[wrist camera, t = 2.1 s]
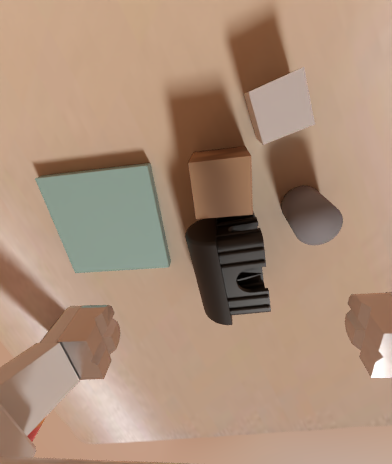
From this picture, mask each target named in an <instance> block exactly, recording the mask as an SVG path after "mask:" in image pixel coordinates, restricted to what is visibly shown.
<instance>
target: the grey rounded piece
mask: <svg viewBox="0 0 392 464" xmlns="http://www.w3.org/2000/svg"><path fill="white" fill-rule="evenodd" d="M281 209H282V213H283V214H284V216H285V218H286V220H287V221H288V223H289V225H290V226H291V228H292V230H293V232H294V233H295V235H296V237H297V238H298V239H299V240H300V241H301V242H303V243H305V244H309V245H320V244H324V243H326V242H328V241H330V240H332V239H333V238H334V237H335V236H336V235H337V234H338V233H339V231H340V229H341V227H342V223H343V218H342V214H341V212H340V211H339V210H338V209H337V208H336V207H335V206H334V205H333V204H332V203H331V202H329V201H328V200H327V199H326V198H325V197H324V196H323V195H321V194H320V193H319V192H318V191H317V190H316V189H314V188H313V187H310V186H299V187H296V188H294V189H292V190H290V191H289V192H288V193H287V194H286V195H285V196H284V198H283V200H282V204H281Z"/></svg>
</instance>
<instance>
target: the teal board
mask: <svg viewBox="0 0 392 464" xmlns="http://www.w3.org/2000/svg"><path fill="white" fill-rule="evenodd" d="M35 180H36V182H37V184H38V187H39V189H40V191H41V194H42V196H43V198H44V201H45V203H46V205H47V208H48V210H49V213H50V215H51V217H52V220H53V222H54V224H55V227H56V229H57V231H58V234H59V236H60V238H61V241H62V243H63V245H64V248H65V250H66V253H67V255H68V257H69V260H70V262H71V264H72V267H73V269H74V271H75V273H85V272H101V271H117V270H133V269H149V268H166V267H169V266H170V262H171V260H170V255H169V251H168V246H167V241H166V236H165V232H164V227H163V222H162V217H161V212H160V208H159V203H158V198H157V193H156V188H155V184H154V179H153V174H152V169H151V164H150V163H145V164H137V165H128V166H120V167H111V168H103V169H94V170H86V171H77V172H69V173H60V174H52V175H44V176H40V177H38V178H35Z"/></svg>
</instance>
